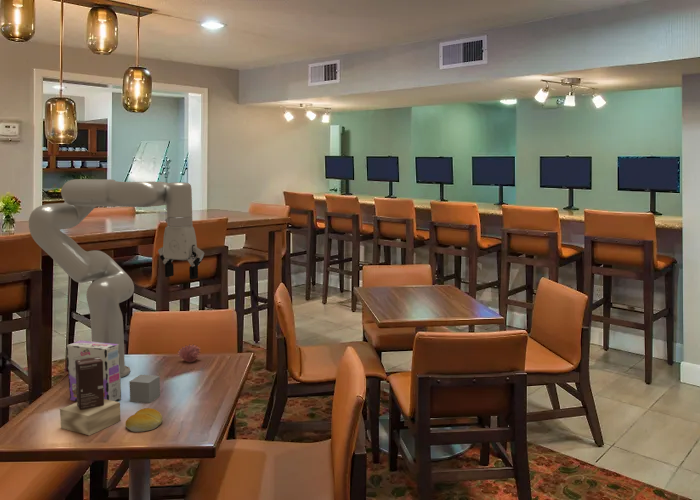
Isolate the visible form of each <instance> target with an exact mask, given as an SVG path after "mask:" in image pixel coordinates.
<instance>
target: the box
mask: <svg viewBox="0 0 700 500" xmlns="http://www.w3.org/2000/svg"><path fill="white" fill-rule="evenodd" d="M75 366H76V392H77V401H76V403H77V406H78V408H79V409H80V410H81V409H86V408H91V407H96V406H102V405H104V388H103V387H104V385H103V361H102V359H101V358H100V357H95V358H86V359H81V360H76V361H75Z"/></svg>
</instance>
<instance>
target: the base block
mask: <svg viewBox="0 0 700 500" xmlns="http://www.w3.org/2000/svg"><path fill="white" fill-rule="evenodd" d="M59 417H60V429H62V430H66V431H67V430H68V431H71V432H74V433H78V434H82V435H87V436H91V435H94V434H95V433H97V432H100V431H103V430H104V429H106V428H109V427H110V426H112V425H114V424H117V423H119V422H121V419H122V418H121V403H120V402H119V401H111V400H107V399H104V405H102V406H96V407H91V408H86V409H81V410H80V409H79V408H78V406H77V402H74V403H72V404H70V405H67V406H64V407H62V408H59Z"/></svg>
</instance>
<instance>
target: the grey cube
mask: <svg viewBox="0 0 700 500" xmlns="http://www.w3.org/2000/svg"><path fill="white" fill-rule="evenodd" d="M160 376H161V375H152V374H151V375H150V374H149V375H148V374H139V375H138V376H136V377H135V378H133V379H131V380H129V383H128V385H129V402H131V403H142V404H150V403H152V402H153V401H155V400H156V399H157V398H159V397H161V380H160V379H161V377H160Z"/></svg>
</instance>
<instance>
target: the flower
mask: <svg viewBox="0 0 700 500" xmlns="http://www.w3.org/2000/svg"><path fill="white" fill-rule="evenodd" d="M201 350H202V349H201V346H199V347H198V345H195V344H192V345H191V344H189V345H188V346H187V345H185V346H184V347H183V346H181V348H179V351H177V355H178V358H180V359H182V360H184V362H187V363H192V362H195V361H196V359H197V358H199V357H198V356H200V353H201Z"/></svg>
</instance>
